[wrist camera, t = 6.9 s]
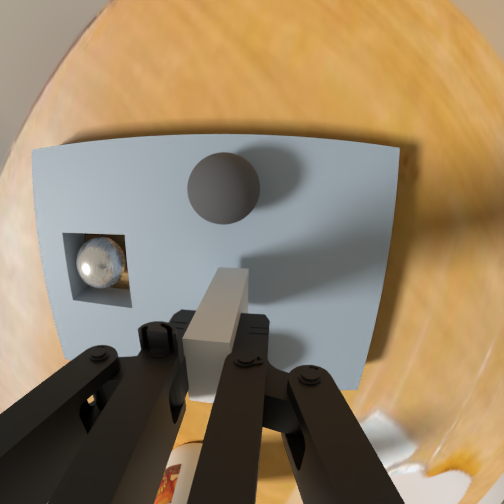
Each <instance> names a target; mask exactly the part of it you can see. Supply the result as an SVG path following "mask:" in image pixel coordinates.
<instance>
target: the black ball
mask: <svg viewBox="0 0 504 504" xmlns="http://www.w3.org/2000/svg"><path fill="white" fill-rule="evenodd" d="M187 193H188V198H189V201H190V204H191V206H192V207H193V209H194V210H195V212H196V213H197V214H198V215H199V216H200V217H202V218H203V219H205V220H207V221H209V222H211V223H214V224H221V225H226V224H232V223H236V222H238V221H240V220H242V219H244V218H245V217H246V216H248V215H249V214H250V213H251V212H252V210H253V209H254V208H255V206H256V204H257V202H258V199H259V195H260V182H259V178H258V175H257V173H256V171H255V169H254V167H253V166H252V165H251V164H250V163H249V162H248V161H247V160H246V159H244V158H243V157H241V156H239V155H236V154H233V153H228V152H220V153H215V154H212V155H209V156H207V157H205V158H204V159H202V160H201V161H200V162H199V163H198V164H197V165H196V166H195V167H194V169H193V170H192V172H191V174H190V176H189V179H188V184H187Z"/></svg>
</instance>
